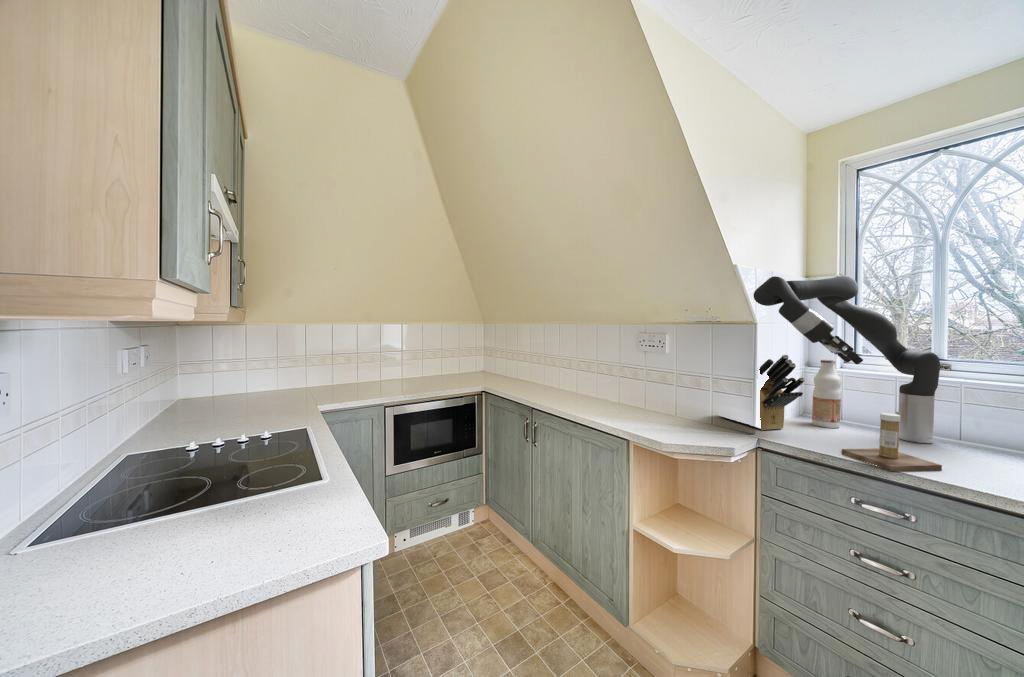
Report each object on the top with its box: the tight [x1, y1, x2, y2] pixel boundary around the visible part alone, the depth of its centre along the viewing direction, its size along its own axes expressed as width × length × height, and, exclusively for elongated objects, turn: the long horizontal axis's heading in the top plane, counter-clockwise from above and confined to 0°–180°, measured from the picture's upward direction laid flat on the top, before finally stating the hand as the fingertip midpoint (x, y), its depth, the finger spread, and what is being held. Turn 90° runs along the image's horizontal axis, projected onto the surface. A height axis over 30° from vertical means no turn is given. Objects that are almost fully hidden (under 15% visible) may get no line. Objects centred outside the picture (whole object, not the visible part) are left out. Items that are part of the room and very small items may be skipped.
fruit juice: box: [811, 359, 842, 429], centre depth 168 cm, size 9×9×28 cm
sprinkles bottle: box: [878, 412, 900, 459], centre depth 124 cm, size 5×5×14 cm
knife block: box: [758, 354, 805, 431], centre depth 167 cm, size 11×35×31 cm, turn 13°
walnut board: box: [841, 447, 943, 472], centre depth 124 cm, size 16×16×2 cm
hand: (855, 361), depth 125 cm, fingers open, 8 cm apart
